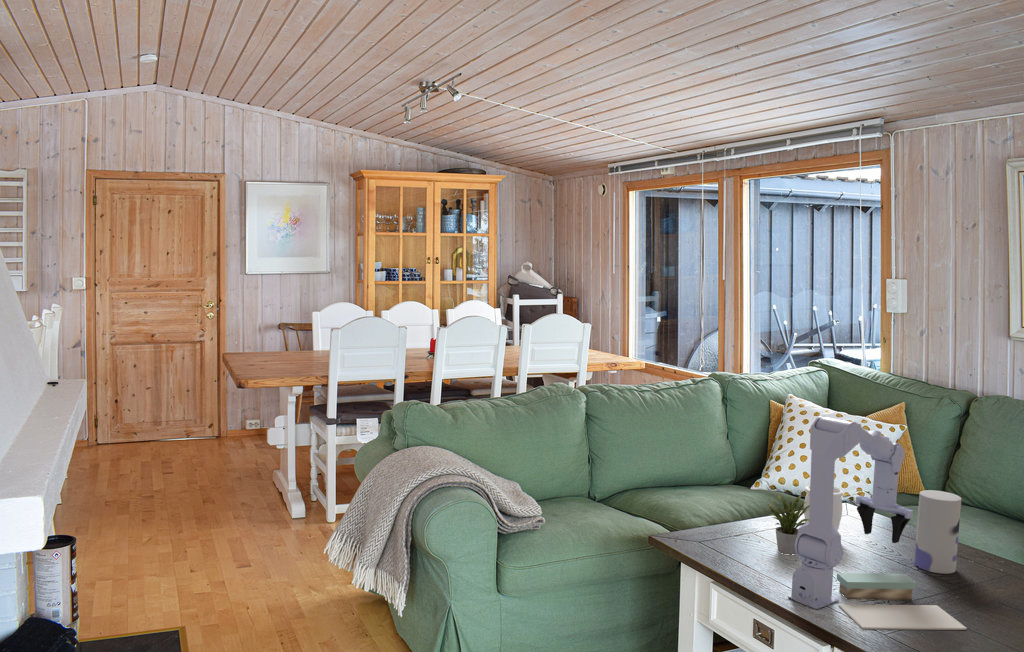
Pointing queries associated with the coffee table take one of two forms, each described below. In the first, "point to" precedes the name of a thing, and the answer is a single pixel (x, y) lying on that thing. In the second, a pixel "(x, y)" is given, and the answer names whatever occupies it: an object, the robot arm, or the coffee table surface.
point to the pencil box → (876, 593)
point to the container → (937, 531)
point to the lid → (876, 581)
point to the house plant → (788, 525)
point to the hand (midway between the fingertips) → (881, 537)
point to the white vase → (836, 506)
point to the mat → (901, 617)
